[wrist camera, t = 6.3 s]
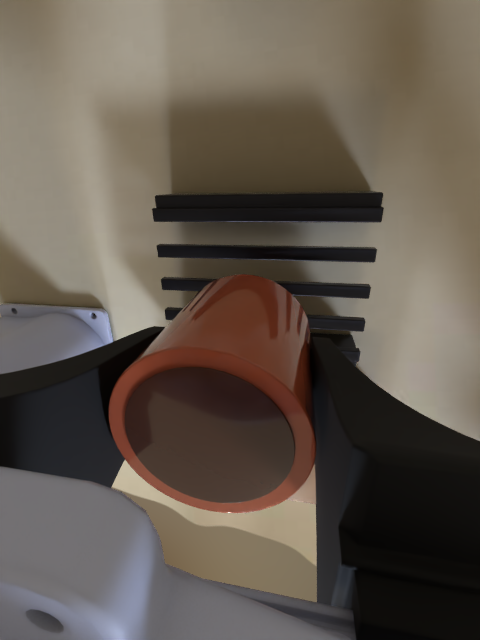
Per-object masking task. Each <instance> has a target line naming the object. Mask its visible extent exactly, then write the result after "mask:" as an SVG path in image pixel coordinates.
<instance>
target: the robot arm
mask: <svg viewBox="0 0 480 640" xmlns="http://www.w3.org/2000/svg"><path fill="white" fill-rule="evenodd" d="M93 313H95V314H96V317H95V316H94V314H93ZM0 314H1V317H0V640H480V441H478V440H475V439H473V438H470V437H468V436H465V435H463V434H461V433H459V432H456V431H454V430H452V429H450V428H448V427H446V426H444V425H442V424H440V423H438V422H436V421H434V420H432V419H430V418H428V417H426V416H424V415H422V414H421V413H419V412H417V411H415V410H414V409H412V408H410V407H409V406H407V405H405V404H404V403H402V402H400V401H399V400H397V399H396V398H394V397H393V396H391V395H390V394H389V393H387V392H386V391H384V390H383V389H382V388H380V387H379V386H377V385H376V384H375V383H374V382H372V381H371V380H370V379H369V378H368V377H367V376H365V375H364V374H363V373H362V372H361V371H360V370H359V369H358V368H357V367H356V366H354V365H353V364H352V363H351V362H350V361H349V359H348V358H347V357H346V356H345V355H344V354H343V353H342V352H341V351H340V350H339V348H338V347H337V346H336V345H335V344H334V343H333V342H332V340H331V339H330V338H318V337H312V343H311V360H312V373H313V390H314V407H315V425H316V457H315V462H314V463H315V478H316V531H317V603H316V602H312V601H306V600H302V599H297V598H292V597H288V596H283V595H278V594H274V593H269V592H264V591H259V590H255V589H250V588H245V587H240V586H236V585H231V584H226V583H222V582H217V581H212V580H207V579H202V578H200V577H197V576H195V575H193V574H190V573H188V572H185V571H183V570H181V569H178V568H176V567H173V566H171V565H168V564H165V561H164V555H163V550H162V545H161V540H160V537H159V535H158V533H157V530H156V529H155V527H154V525H153V523H152V521H151V520H150V518H149V516H148V514H147V512H146V511H145V510H144V509H143V508H142V507H140V506H139V505H138V504H136V503H135V502H134V501H132V500H131V499H130V498H129V497H127V496H126V495H125V494H123V493H122V492H120V491H117V490H115V489H112V488H111V487H112V484H113V482H114V480H115V478H116V476H117V474H118V472H119V470H120V468H121V466H122V464H123V462H124V460H125V459H124V457H123V456H122V454H121V452H120V451H119V449H118V447H117V445H116V443H115V441H114V439H113V436H112V433H111V429H110V424H109V418H108V407H109V401H110V396H111V393H112V390H113V387H114V385H115V384H116V382H117V380H118V378H119V377H120V376H121V374H122V373H123V372H124V371H125V370H126V369H127V367H128V366H129V365H130V364H131V363H132V362H133V361H134V360H135V359H136V358H137V357H138V356H139V355H140V354H141V353H142V352H143V351H144V349H145V348H146V347H147V346H148V345H149V344H150V343H151V342H152V341H153V340H154V339H155V338H156V337H157V336H158V335H159V334H160V333H161V331H162V330H163V329H164V328H165V327H155V326H154V327H150V328H147V329H144V330H141V331H139V332H136V333H134V334H131V335H129V336H126V337H124V338H121V339H119V340H117V341H114V342H113V337H112V333H111V328H110V323H109V318H108V314H107V312H106V311H105V310H104V309H101V308H84V307H66V306H48V305H30V304H13V303H3V304H1V305H0Z"/></svg>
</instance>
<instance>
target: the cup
mask: <svg viewBox="0 0 480 640" xmlns="http://www.w3.org/2000/svg"><path fill="white" fill-rule="evenodd" d="M108 418H109V424H110V429H111V433H112V436H113V439H114V441H115V443H116V445H117V447H118V449H119V451H120V452H121V454H122V456H123V457H124V459H125V460H126V461H127V462H128V464H129V465H130V466H131V467H132V468H133V469H134V471H135V472H136V473H137V474H138V475H139V476H141V477H142V478H143V479H144V480H145V481H146V482H147V483H149V484H150V485H152V486H153V487H154V488H156V489H157V490H159V491H160V492H162V493H164V494H165V495H167V496H169V497H171V498H173V499H175V500H177V501H180V502H182V503H185V504H187V505H190V506H193V507H196V508H200V509H204V510H209V511H214V512H222V513H247V512H254V511H259V510H263V509H266V508H270V507H272V506H275V505H277V504H280V503H281V502H283V501H285V500H286V499H288V498H290V497H291V496H292V495H293V494H295V493H296V492H297V491H298V490H299V489H300V488H301V487H302V486H303V484H304V483H305V482H306V480H307V478H308V477H309V475H310V473H311V471H312V468H313V466H314V462H315V457H316V425H315V407H314V390H313V373H312V360H311V337H310V327H309V323H308V319H307V316H306V314H305V312H304V310H303V308H302V307H301V305H300V303H299V302H298V301H297V300H296V298H295V297H294V296H293V295H292V294H291V293H290V292H289V291H287V290H286V289H285V288H283V287H282V286H280V285H279V284H277V283H275V282H273V281H271V280H269V279H266V278H263V277H259V276H255V275H246V274H241V275H231V276H226V277H223V278H219V279H217V280H215V281H213V282H211V283H210V284H208V285H206V286H205V287H204V288H203V289H202V290H200V291H199V292H198V293H197V294H196V296H195V297H194V298H193V299H192V300H191V301H190V302H189V303H188V304H187V305H186V306H185V307H184V308H183V309H182V310H181V311H180V312H179V314H178V315H177V316H176V317H175V318H174V319H173V320H172V321H171V322H170V323H169V324H168V325H167V326H166V327H165V328H164V329H163V330H162V331H161V333H160V334H159V335H158V336H157V337H156V338H155V339H154V340H153V341H152V342H151V343H150V344H149V345H148V346H147V347H146V348H145V349H144V351H143V352H142V353H141V354H140V355H139V356H138V357H137V358H136V359H135V360H134V361H133V362H132V363H131V364H130V365H129V366H128V367H127V369H126V370H125V371H124V372H123V373H122V374H121V376H120V377H119V378H118V380H117V382H116V384H115V385H114V387H113V390H112V393H111V396H110V401H109V407H108Z"/></svg>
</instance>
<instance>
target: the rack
mask: <svg viewBox="0 0 480 640" xmlns="http://www.w3.org/2000/svg"><path fill="white" fill-rule="evenodd" d="M382 198H383V193H382V192H373V191H360V192H285V193H209V194H166V195H156V196H155V201H156V208H153V209H152V211H153V219H154V221H155V222H381V221H382V215H383V209H384V208H383V207H381V204H382ZM157 251H158V257H170V258H212V259H253V260H295V261H336V262H375V258H376V252H377V249H376V248H374V247H318V246H257V245H195V244H159V245H157ZM215 280H217V279H207V278H179V277H163V278H162V279H161V283H162V290H181V291H200V290H202V289H203V288H204V287H205V286H206V285H208V284H210V283H211V282H213V281H215ZM273 282H275V283H277V284H279V285H280V286H282V287H283V288H285V289H286V290H287V291H289V292H290V293H291V294H292V295H296V296H319V297H342V298H365V299H368V298H369V295H370V289H371V287H370V285H369V284H347V283H319V282H291V281H273ZM182 309H183V308H172V307H167V308H166V309H165V315H166V320H173V319H174V318H175V317H176V316H177V315H178V314H179V312H180V311H181V310H182ZM306 316H307V319H308V323H309V327H310V328H312V329H328V330H345V331H361V332H363V331H364V326H365V319H364V318H359V317H340V316H322V315H306ZM310 337H311V343H312V337H318V338H330V339H331V340H332V342H333V343H334V344H335V345H336V346H337V347H338V348H339V350H340V351H341V352H342V353H343V354H344V355H345V356H346V357H347V358H348V359H349V361H350V362H351V363H352V364H353V365H354V366H356V363H357V362H358V361H359V357H360V350H359V348H356V346H355V343H354V340H353V337H352V335H342V334H326V333H310Z"/></svg>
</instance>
